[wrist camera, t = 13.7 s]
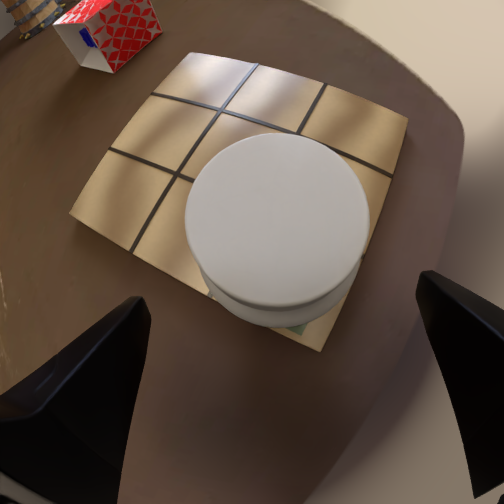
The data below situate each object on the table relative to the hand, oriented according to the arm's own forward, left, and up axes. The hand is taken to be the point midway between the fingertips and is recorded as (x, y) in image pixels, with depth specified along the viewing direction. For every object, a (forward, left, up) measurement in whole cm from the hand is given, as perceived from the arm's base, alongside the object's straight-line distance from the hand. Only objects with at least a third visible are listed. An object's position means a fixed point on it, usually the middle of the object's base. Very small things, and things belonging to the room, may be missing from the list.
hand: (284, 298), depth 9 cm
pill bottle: (+1, -2, -8) cm, 8 cm away
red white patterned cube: (+29, -18, -9) cm, 35 cm away
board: (+7, -8, -9) cm, 14 cm away
